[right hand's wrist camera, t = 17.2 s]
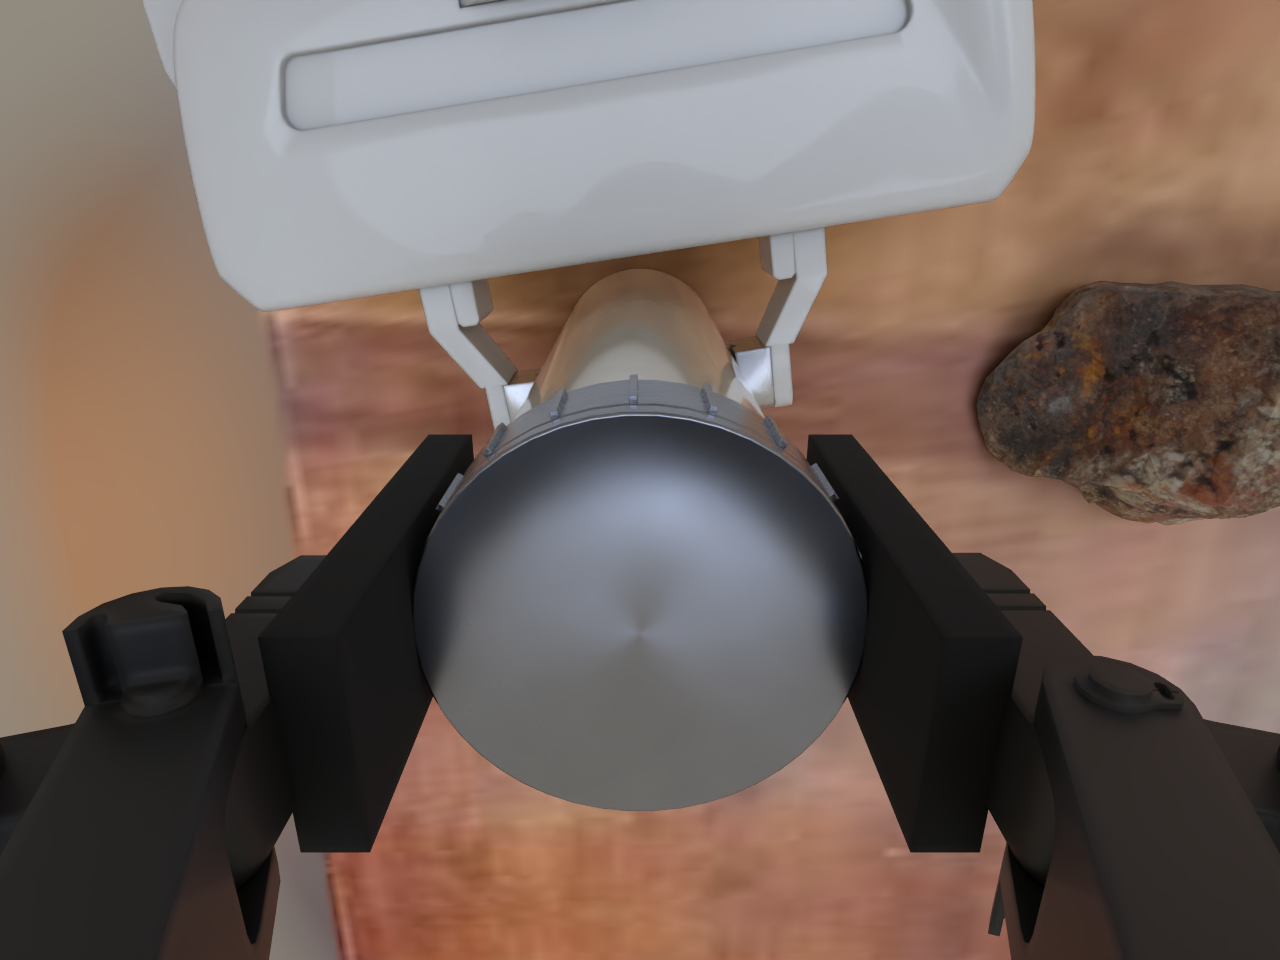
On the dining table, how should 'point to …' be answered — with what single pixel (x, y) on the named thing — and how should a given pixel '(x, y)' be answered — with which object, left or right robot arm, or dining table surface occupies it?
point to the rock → (1147, 400)
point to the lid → (640, 598)
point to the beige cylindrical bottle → (640, 340)
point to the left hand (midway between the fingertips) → (646, 420)
